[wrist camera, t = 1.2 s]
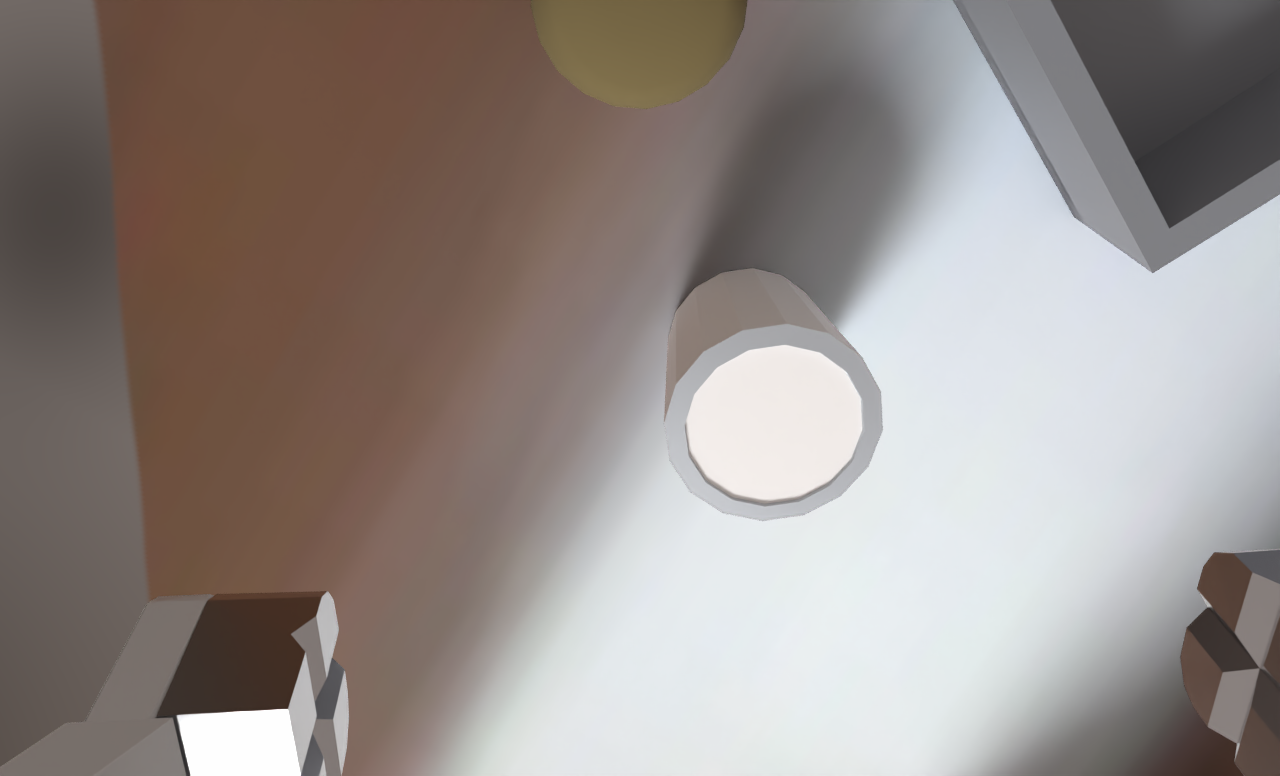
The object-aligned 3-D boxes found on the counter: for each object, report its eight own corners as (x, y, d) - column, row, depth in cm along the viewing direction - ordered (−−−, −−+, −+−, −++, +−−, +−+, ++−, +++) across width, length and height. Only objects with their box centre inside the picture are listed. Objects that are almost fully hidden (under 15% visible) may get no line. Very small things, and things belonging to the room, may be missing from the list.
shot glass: (809, 224, 39) (854, 294, 33) (857, 391, 42) (907, 484, 36) (625, 288, 40) (633, 368, 33) (684, 447, 43) (703, 549, 36)
